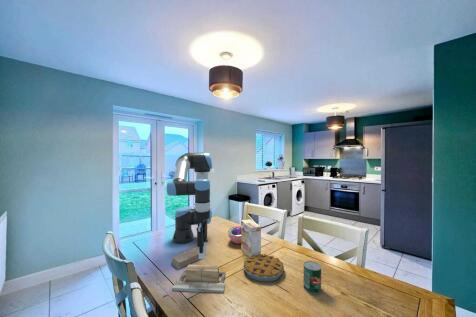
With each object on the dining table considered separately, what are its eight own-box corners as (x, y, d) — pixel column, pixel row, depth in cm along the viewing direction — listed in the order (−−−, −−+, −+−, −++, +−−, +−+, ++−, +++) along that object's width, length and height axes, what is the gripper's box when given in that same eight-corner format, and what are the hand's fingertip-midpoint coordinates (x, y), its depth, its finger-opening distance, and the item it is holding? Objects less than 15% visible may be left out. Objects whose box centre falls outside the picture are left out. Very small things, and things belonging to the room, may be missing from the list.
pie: (286, 264, 116) (286, 255, 116) (281, 288, 95) (281, 277, 95) (249, 258, 123) (249, 250, 123) (237, 278, 102) (237, 268, 102)
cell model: (256, 239, 150) (256, 224, 150) (242, 250, 133) (242, 233, 133) (237, 234, 159) (237, 220, 159) (222, 244, 142) (222, 228, 142)
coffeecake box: (240, 249, 134) (240, 220, 134) (250, 247, 137) (250, 218, 136) (251, 260, 120) (251, 227, 120) (261, 257, 123) (261, 226, 123)
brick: (178, 270, 110) (178, 261, 110) (170, 264, 116) (170, 256, 116) (202, 258, 122) (203, 251, 122) (194, 254, 128) (194, 246, 128)
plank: (188, 276, 104) (188, 264, 104) (219, 277, 103) (219, 265, 103) (185, 282, 99) (185, 269, 99) (217, 283, 98) (217, 271, 98)
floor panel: (182, 272, 107) (182, 270, 107) (227, 274, 105) (227, 272, 105) (172, 290, 93) (172, 287, 93) (223, 292, 91) (223, 290, 91)
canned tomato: (307, 281, 100) (307, 259, 100) (323, 287, 95) (323, 264, 95) (300, 289, 94) (300, 265, 94) (318, 296, 89) (318, 272, 89)
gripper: (199, 206, 109) (199, 249, 109) (190, 214, 93) (190, 265, 93) (212, 206, 108) (212, 249, 109) (206, 215, 92) (206, 265, 93)
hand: (202, 256), depth 101 cm, fingers open, 3 cm apart
